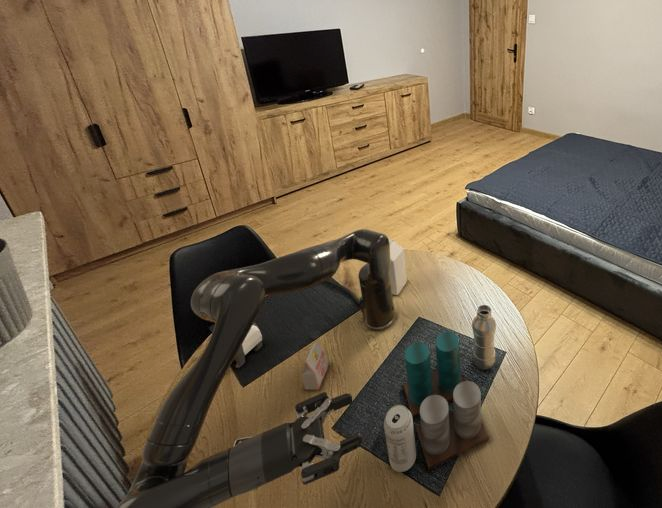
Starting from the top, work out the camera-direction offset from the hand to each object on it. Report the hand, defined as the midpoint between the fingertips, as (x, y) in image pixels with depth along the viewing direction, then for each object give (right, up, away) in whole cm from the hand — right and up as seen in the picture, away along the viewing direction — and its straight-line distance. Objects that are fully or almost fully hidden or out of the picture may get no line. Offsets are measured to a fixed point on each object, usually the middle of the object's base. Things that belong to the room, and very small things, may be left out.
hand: (356, 416), depth 72 cm
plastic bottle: (+27, -8, +34) cm, 44 cm away
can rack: (+13, -11, +26) cm, 31 cm away
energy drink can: (+7, -18, +12) cm, 23 cm away
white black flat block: (-26, -18, +13) cm, 34 cm away
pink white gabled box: (-20, -10, +30) cm, 37 cm away
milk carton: (-5, +3, +62) cm, 63 cm away
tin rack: (+18, -16, +16) cm, 29 cm away
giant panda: (-45, -8, +36) cm, 58 cm away
